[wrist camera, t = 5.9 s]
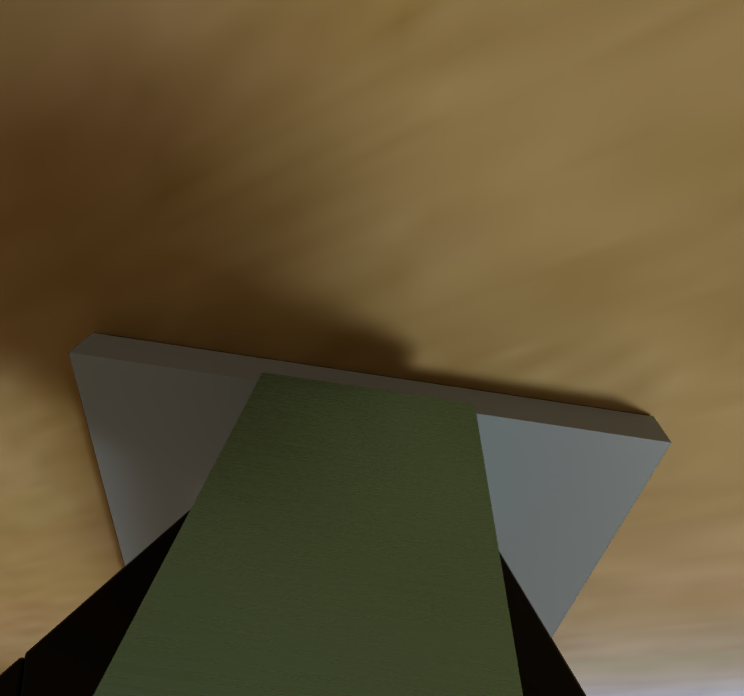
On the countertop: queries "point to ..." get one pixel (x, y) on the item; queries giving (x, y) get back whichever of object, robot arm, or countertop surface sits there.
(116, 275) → the countertop surface
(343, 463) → the green cube on rod
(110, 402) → the base board
